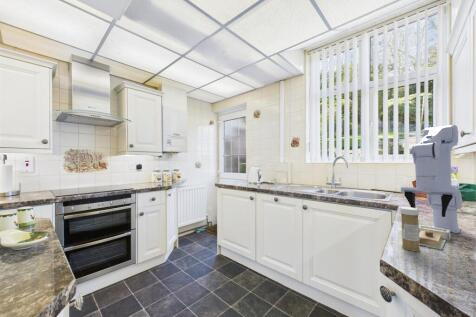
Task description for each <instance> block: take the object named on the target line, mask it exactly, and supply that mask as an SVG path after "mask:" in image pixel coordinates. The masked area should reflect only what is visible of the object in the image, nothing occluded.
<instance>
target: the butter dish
mask: <svg viewBox="0 0 476 317" xmlns="http://www.w3.org/2000/svg"><path fill="white" fill-rule="evenodd" d="M421 231H429V232H433V233H436V234H441V235H442V240H446V242H450V240H451V232H450V230H448V229H442V228H436V227H432V226H428V225H424V224H419V233H420V232H421Z"/></svg>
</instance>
